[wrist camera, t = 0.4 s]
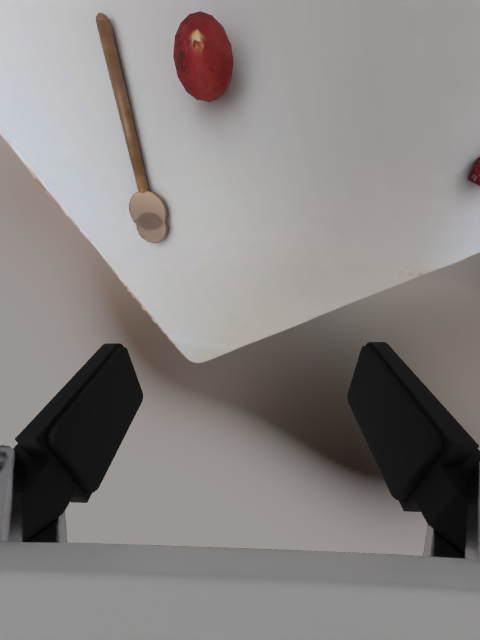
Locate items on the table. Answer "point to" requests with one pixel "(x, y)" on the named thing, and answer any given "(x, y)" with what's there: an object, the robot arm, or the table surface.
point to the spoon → (133, 147)
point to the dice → (475, 173)
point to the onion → (203, 56)
